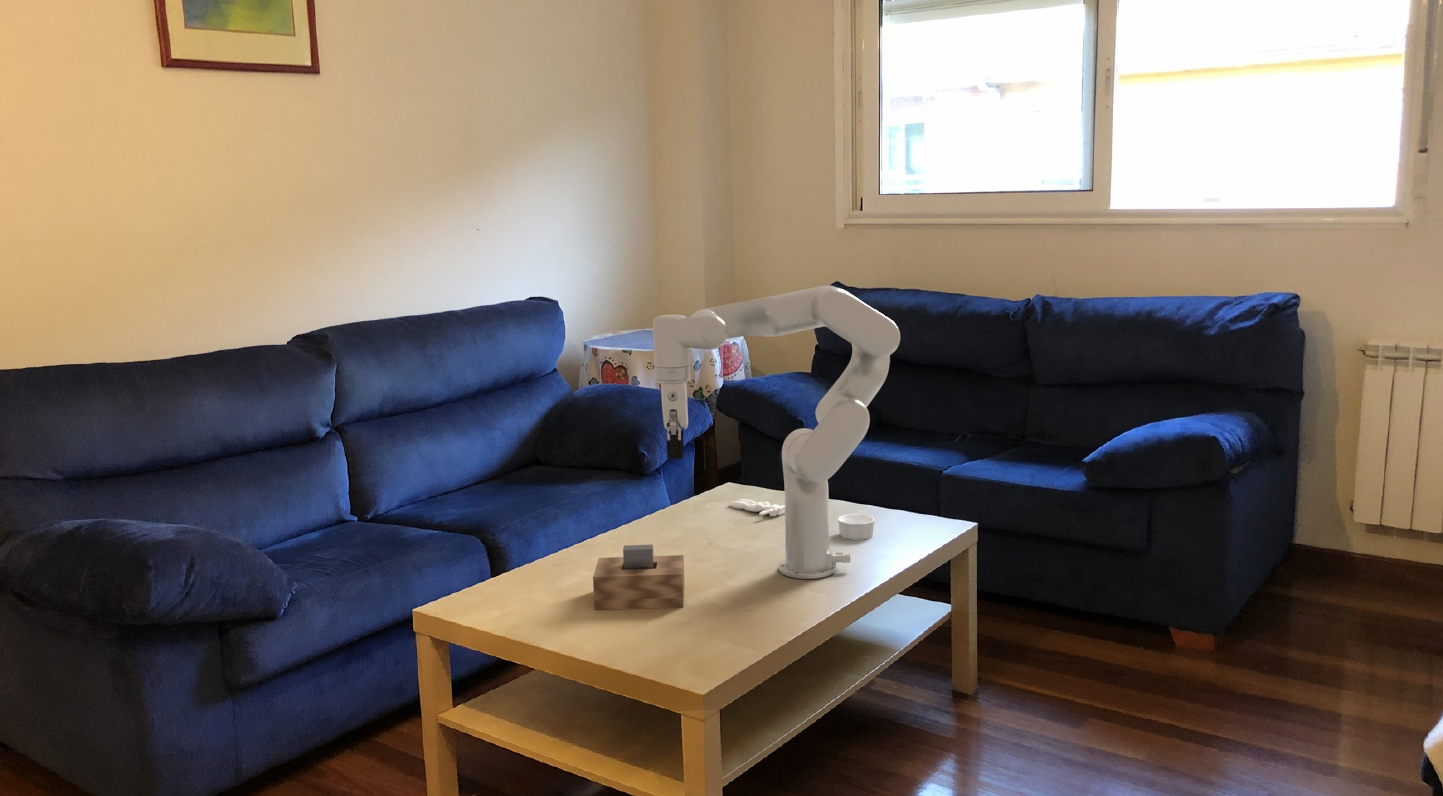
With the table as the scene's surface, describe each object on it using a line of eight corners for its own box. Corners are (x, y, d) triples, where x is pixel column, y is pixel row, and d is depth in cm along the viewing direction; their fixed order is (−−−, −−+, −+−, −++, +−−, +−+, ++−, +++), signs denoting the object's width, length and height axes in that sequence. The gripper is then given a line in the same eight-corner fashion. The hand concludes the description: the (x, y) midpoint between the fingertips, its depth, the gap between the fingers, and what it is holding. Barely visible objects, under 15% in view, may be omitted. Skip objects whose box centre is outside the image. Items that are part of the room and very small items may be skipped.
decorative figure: (716, 503, 292) (763, 508, 278) (749, 494, 300) (796, 499, 286) (717, 516, 292) (764, 522, 279) (750, 507, 300) (797, 512, 287)
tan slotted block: (684, 586, 235) (683, 555, 233) (683, 607, 223) (682, 574, 221) (600, 589, 234) (598, 557, 233) (594, 609, 223) (592, 577, 221)
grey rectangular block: (654, 585, 230) (652, 544, 228) (654, 590, 227) (652, 549, 225) (625, 586, 230) (624, 545, 228) (624, 591, 227) (623, 550, 225)
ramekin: (839, 529, 271) (839, 512, 271) (876, 530, 270) (875, 513, 269) (836, 540, 263) (836, 523, 262) (873, 542, 261) (873, 524, 260)
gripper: (690, 380, 222) (692, 462, 225) (691, 367, 239) (693, 443, 242) (652, 381, 222) (656, 463, 225) (656, 368, 239) (659, 444, 242)
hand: (675, 453), depth 233 cm, fingers open, 9 cm apart
